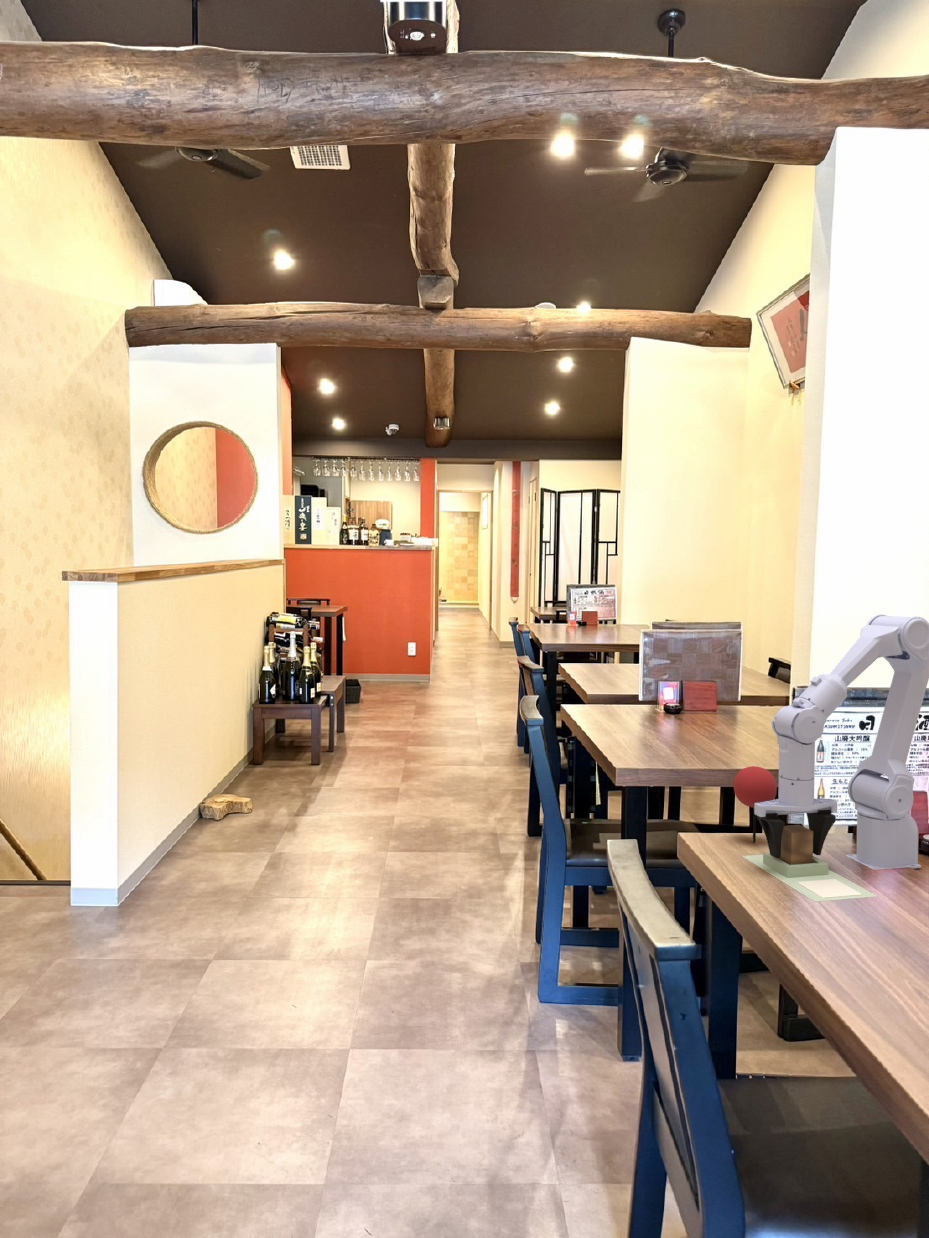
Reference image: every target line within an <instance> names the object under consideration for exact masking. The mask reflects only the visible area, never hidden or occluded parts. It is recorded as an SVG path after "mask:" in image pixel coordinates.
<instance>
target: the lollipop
mask: <svg viewBox="0 0 929 1238" xmlns="http://www.w3.org/2000/svg"><path fill="white" fill-rule="evenodd" d="M733 790H734V791H733V792H734V794H735V797H736V798H737V800H738V801H739V802H740V803H741V804H742V805H745V806H746V807H749V808H753V809H752V810H753V811H752V818H753V820H752V843H753V844H756V837H757V836H756V835H757V829H756V828H757V815H755V814H754V804H755V803H761V802H766V801H771V800H775V799H776V796H777V792H778V791H777V790H778V787H777V782H776V779H775V776H774V775H773V773H771V771H770V770H768V769H766V768H763V767H760V766H754V765H753V766H746V767H744V768H742V769H741V770H739V771H738V772H737V773H736V775H735V777H734V780H733Z"/></svg>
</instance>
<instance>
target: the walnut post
mask: <svg viewBox="0 0 929 1238" xmlns="http://www.w3.org/2000/svg"><path fill="white" fill-rule="evenodd" d="M813 856H814V854H813V831H811V830H809V828H806V827H805V826H803V825H801V824H792V825H791V824H790V825H784V828H783V832H782V839H781V856H780V858H778V859H780V860H782V861H784V862H785V863H787V864H789V865H797V864H810V863H813Z"/></svg>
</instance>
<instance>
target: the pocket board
mask: <svg viewBox="0 0 929 1238" xmlns="http://www.w3.org/2000/svg"><path fill="white" fill-rule="evenodd" d="M741 856H742V858H744V859H746V860H747V861H749V862H750V863H752V864H754V865H755V866H756V867H758V868H760V869H761V870H764V872H766V873H767V874H769V875H771V876H773V877H774V878H775V879H777V880H779V881H781V882H782V883H784V884H785V885H787V886H789V887H791V888H792V889H794V890H795V891H796V892H798V893H800V894H801V895H803V896H805V897H806V898H808V899H809V900H811V901H813V902H814V903H818V902H819V903H820V902H829V901H830V902H832V901H841V900H854V899H867V898H878V897H879V895H876V894H874V893H873V892H871V891H869V890H867V889H866V888H863V887H862V886H861V885H858V884H856V883H854V882H853V881H851V880H849V879H847V878H845V877H843V876H842V875H840V874H838V873H836V872H834V871H832V870H831V869H829V865H830V864H829V863H828V862H825V861H823V860H821V859H820V858H818V857H816V856H814V855H813V863H810V864H797V865H789V864H787V863H785V862H784V861H782V860H780V859H778V858H775V857H773V856H771V855H770V852H763V854H754V855H741Z"/></svg>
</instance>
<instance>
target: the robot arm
mask: <svg viewBox="0 0 929 1238" xmlns="http://www.w3.org/2000/svg"><path fill="white" fill-rule="evenodd" d="M859 635H860V636H859V637H858V639H857V640H856V641H855V642H854V644H853V645H852V646H851V648H850V649H849V650H848V651H847V652H846V654H845V655H844V656H843V657H842V659H841V660H840V661H839V662H838V663H837V664H836V666H835V667H834V669H832V671H831V672H830V673H829V674H819V675H818V676H813V678H811V680H810V681H809V682H810V685H808V686H807V687H806V688H805V689H804V691H803V692H802V693H801V694H799V696H798V697H795V698H794V699H793V700H792V703H791V705H786V706H783V707H782V708H780V709H779V710H778V711H777V712H776V713H775V716H774V719H773V720H772V721H771V728H772V730H773V732H774V734H775V736H776V737H777V738H776V739H777V745H778V789H777V790H778V791H777V792H778V798H775V799H774V800H771V801H766V802H761V803H755V804H754V814H755V815H756V820H757V821H758V822H759V824H760V826H761V828H762V830H763V833H764V836H765V838H766V843H767V845H768V851H769V853H770V855H771V856H773V857H775V858H780V856H781V839H782V832H783V828H784V826H786V822H785V821H783V819H780V818H781V817H780V815H794V814H797V815H798V814H805V815H806V818H807V824H808V829H809V830H811V831H813V855H815V856H821V854H822V850H823V848H824V844H825V841H826V838H827V836H828V834H829V832H830V830H831V828H832V826H834V824H835V823H836V822H837V821H836V820H837V819H836V817H837V816H836V815H835V814H832V813H838V801H837V800H836V799H835V800H834V799H832V798H815V772H816V771H815V767H816V766H815V764H816V761H815V760H816V741H817V740H818V739H820V738H822V735H823V732H824V728H825V727H824V726H825V723H827V720H828V718H829V717H830V716H831V715H832V714H833V713H834V712H835V711H836V710H837V709H838V707H840V705H841V704H842V703H843V702H844V701H845V700H846V699H847V697H848V691H847V690H848V689H847V688H848V687H849V685H850V684H851V683H852V682H854V681H856V679H857V678H858V677H859V676H861V675H862V674H863V672H865V671H866V669H868V668H869V667H870V666H871V665H872V664H874V662H876V661H877V659H880V658H883V659H885V661H887V662H888V663H889V665H890V667H891V668H892V669H893V672H894V673H893V676H892V679H891V683H890V686H889V690H888V695H887V698H886V700H885V701H886V702H885V704H884V708H883V709H884V710H883V712H882V715H881V719H880V724H879V727H878V730H877V734H876V738H875V742H874V744H873V747H872V748H873V749H872V752H871V755H870V756H868V757H867V758H865V759H863V760H862V761H860V762H859V763H858V766H857V769H856V772H855V773H854V774H853V776H852V777H851V778H850V779H849V782H848V786H847V794H848V797H849V799H850V801H852V802H853V804H854V810H856V812H857V813H856V853H850V854H848V853H847V854H845V856H846V857H847V858H849V859H852V860H853V861H855V862H857V863H860V864H861V865H863V866H866V867H867V868H869V869H871V870H878V871H879V870H887V869H888V870H889V869H901V868H904V869H905V868H911V869H913V870H914V869H921V868H922V865H921V864H920V863H918V861H919V828H918V824H917V822H916V821H915V819H914V817H912V815H911V814H909V813H910V811H911V810H912V808H913V805H914V800H915V799H914V784H915V781H916V780H915V777H914V776H913V774H912V773H911V772H910V770H909V769H908V767H907V766H906V763H907V759H908V755H909V753H910V749H911V745H912V741H913V739H914V734H915V731H916V730H915V729H916V726H917V723H918V719H919V715H920V712H921V708H922V705H923V701H924V697H925V695H926V690H927V686H928V683H929V621H927V620H926V619H925V618H923V617H921V616H897V615H896V616H895V615H894V616H893V615H886V614H885V615H884V614H878V615H877V614H876V615H874V616H873V617H870V619H869V620H868V622H867V623H866V624H865V625H864V626H862V628H861V629H860V634H859ZM884 775H885V776H886V777H884Z"/></svg>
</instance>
